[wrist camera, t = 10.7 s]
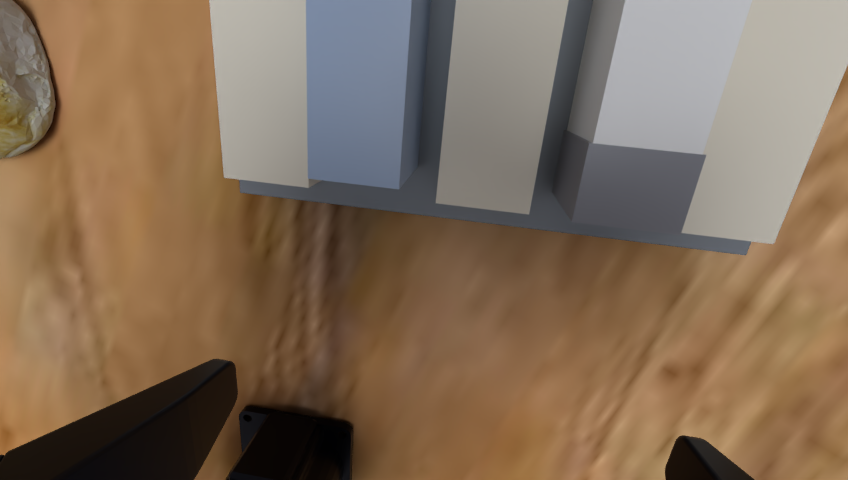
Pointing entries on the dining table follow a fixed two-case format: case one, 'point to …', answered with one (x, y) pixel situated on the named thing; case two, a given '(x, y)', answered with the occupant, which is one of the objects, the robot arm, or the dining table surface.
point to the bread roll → (22, 83)
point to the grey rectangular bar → (365, 89)
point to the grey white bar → (645, 110)
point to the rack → (533, 115)
